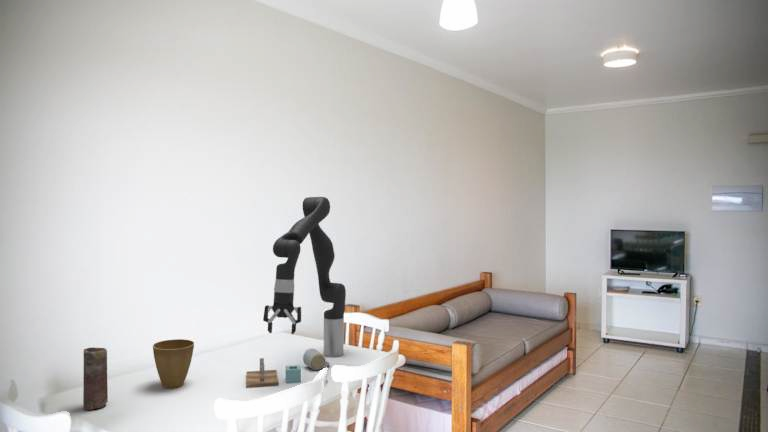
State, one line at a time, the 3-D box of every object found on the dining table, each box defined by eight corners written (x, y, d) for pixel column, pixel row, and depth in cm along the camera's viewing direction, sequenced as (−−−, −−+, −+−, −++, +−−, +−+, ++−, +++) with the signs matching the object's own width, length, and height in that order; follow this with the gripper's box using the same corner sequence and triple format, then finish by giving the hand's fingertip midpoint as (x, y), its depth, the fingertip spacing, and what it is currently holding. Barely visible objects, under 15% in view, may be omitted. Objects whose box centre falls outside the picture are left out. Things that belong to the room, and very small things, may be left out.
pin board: (246, 374, 220) (246, 357, 220) (276, 372, 223) (276, 355, 223) (246, 387, 205) (246, 369, 205) (278, 385, 208) (278, 366, 208)
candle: (89, 402, 189) (89, 345, 188) (111, 402, 189) (111, 345, 189) (79, 411, 181) (78, 352, 180) (102, 410, 182) (101, 351, 181)
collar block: (285, 378, 216) (285, 366, 216) (299, 377, 217) (299, 365, 217) (286, 382, 211) (286, 370, 211) (300, 381, 212) (300, 369, 212)
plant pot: (154, 394, 197) (154, 351, 197) (151, 382, 210) (151, 341, 210) (197, 388, 204) (197, 346, 203) (191, 376, 217) (191, 337, 217)
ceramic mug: (311, 372, 224) (311, 354, 224) (302, 367, 231) (302, 349, 231) (333, 368, 230) (333, 350, 230) (324, 363, 237) (324, 346, 237)
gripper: (303, 291, 213) (301, 332, 212) (267, 289, 213) (264, 331, 212) (301, 292, 206) (298, 335, 204) (263, 290, 205) (261, 333, 204)
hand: (281, 333), depth 208 cm, fingers open, 8 cm apart
